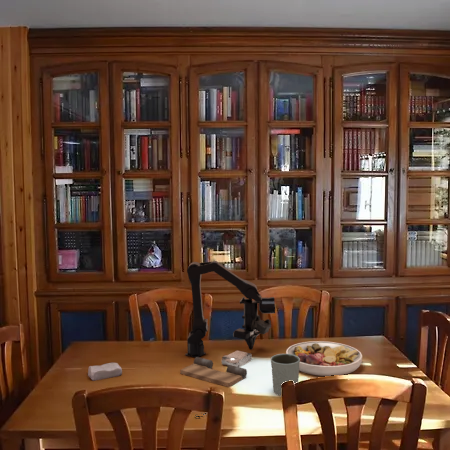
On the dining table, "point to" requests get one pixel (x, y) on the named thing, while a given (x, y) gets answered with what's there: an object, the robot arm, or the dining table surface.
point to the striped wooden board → (214, 372)
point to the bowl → (326, 358)
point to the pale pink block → (236, 359)
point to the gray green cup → (284, 370)
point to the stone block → (104, 371)
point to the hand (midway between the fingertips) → (251, 349)
